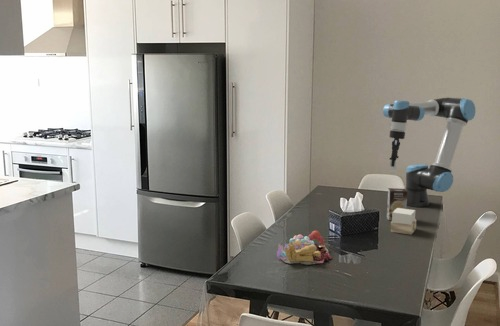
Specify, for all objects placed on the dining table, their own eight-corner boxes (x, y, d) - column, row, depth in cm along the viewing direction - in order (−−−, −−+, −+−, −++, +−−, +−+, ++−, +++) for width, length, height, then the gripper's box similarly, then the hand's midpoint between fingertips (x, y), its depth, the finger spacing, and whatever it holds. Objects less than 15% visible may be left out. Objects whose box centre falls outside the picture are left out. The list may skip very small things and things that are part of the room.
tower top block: (396, 217, 267) (397, 207, 266) (414, 219, 263) (415, 210, 262) (391, 222, 260) (392, 212, 259) (410, 224, 255) (411, 214, 254)
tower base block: (395, 226, 269) (396, 216, 268) (416, 229, 264) (416, 219, 263) (390, 231, 260) (391, 222, 259) (411, 235, 255) (411, 225, 255)
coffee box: (388, 220, 278) (389, 191, 275) (386, 217, 284) (387, 188, 281) (406, 220, 277) (407, 191, 274) (403, 217, 283) (405, 188, 280)
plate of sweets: (336, 265, 220) (336, 244, 218) (280, 267, 218) (280, 246, 216) (323, 244, 244) (323, 225, 242) (273, 246, 242) (273, 227, 241)
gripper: (391, 129, 284) (386, 168, 287) (389, 130, 260) (383, 172, 263) (405, 130, 282) (400, 169, 284) (404, 132, 258) (399, 175, 261)
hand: (392, 171), depth 274 cm, fingers open, 13 cm apart
